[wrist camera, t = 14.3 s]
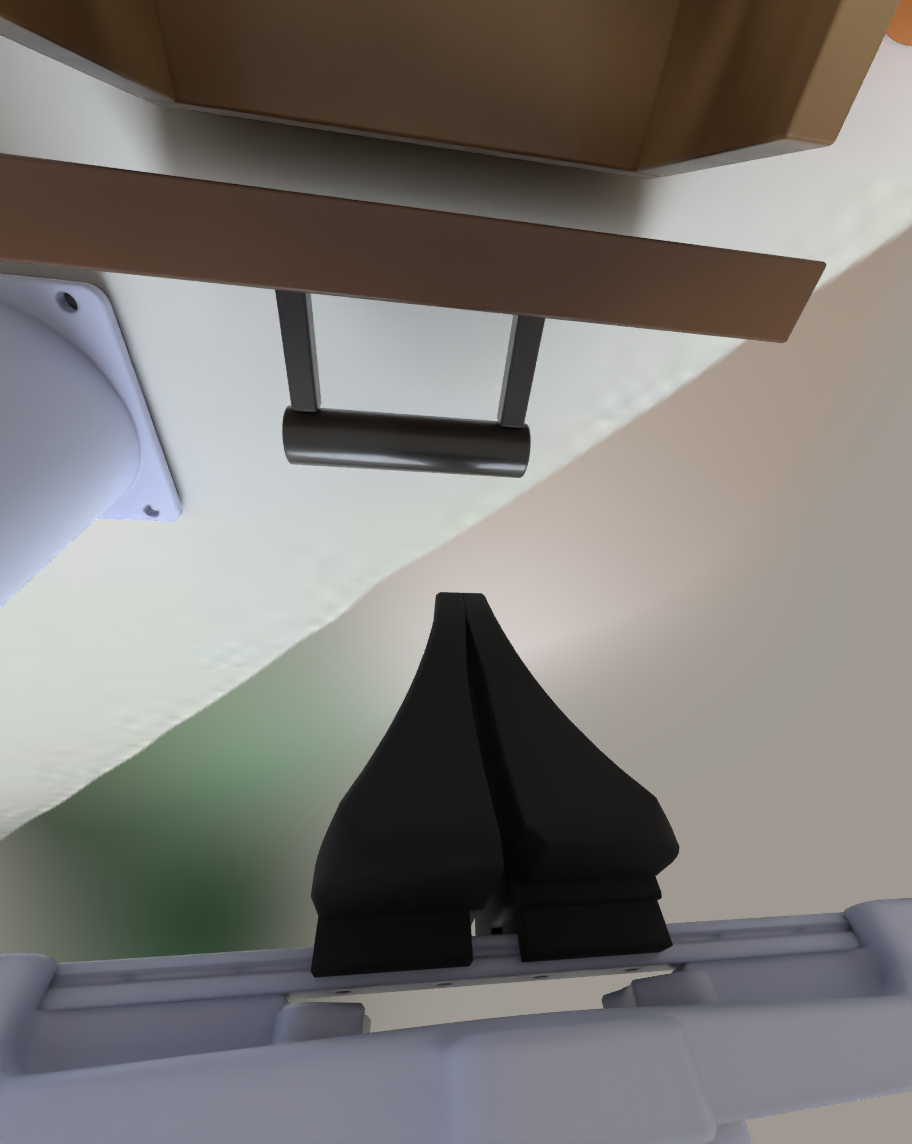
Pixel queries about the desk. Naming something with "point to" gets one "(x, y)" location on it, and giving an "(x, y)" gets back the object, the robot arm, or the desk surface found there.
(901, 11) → the pill bottle
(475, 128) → the drawer
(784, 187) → the desk surface
